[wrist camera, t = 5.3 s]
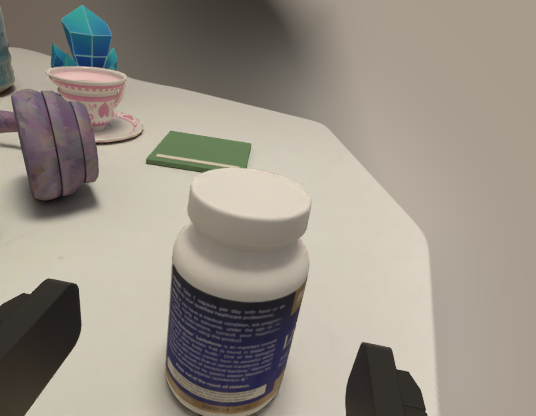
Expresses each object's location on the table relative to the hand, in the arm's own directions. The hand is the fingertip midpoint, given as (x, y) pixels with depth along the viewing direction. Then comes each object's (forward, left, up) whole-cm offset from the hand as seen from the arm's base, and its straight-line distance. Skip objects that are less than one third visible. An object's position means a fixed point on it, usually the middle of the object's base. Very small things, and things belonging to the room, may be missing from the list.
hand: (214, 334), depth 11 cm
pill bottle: (0, -6, -8) cm, 10 cm away
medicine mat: (+6, -35, -8) cm, 36 cm away
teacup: (+20, -38, -8) cm, 43 cm away
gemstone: (+25, -50, -8) cm, 56 cm away
